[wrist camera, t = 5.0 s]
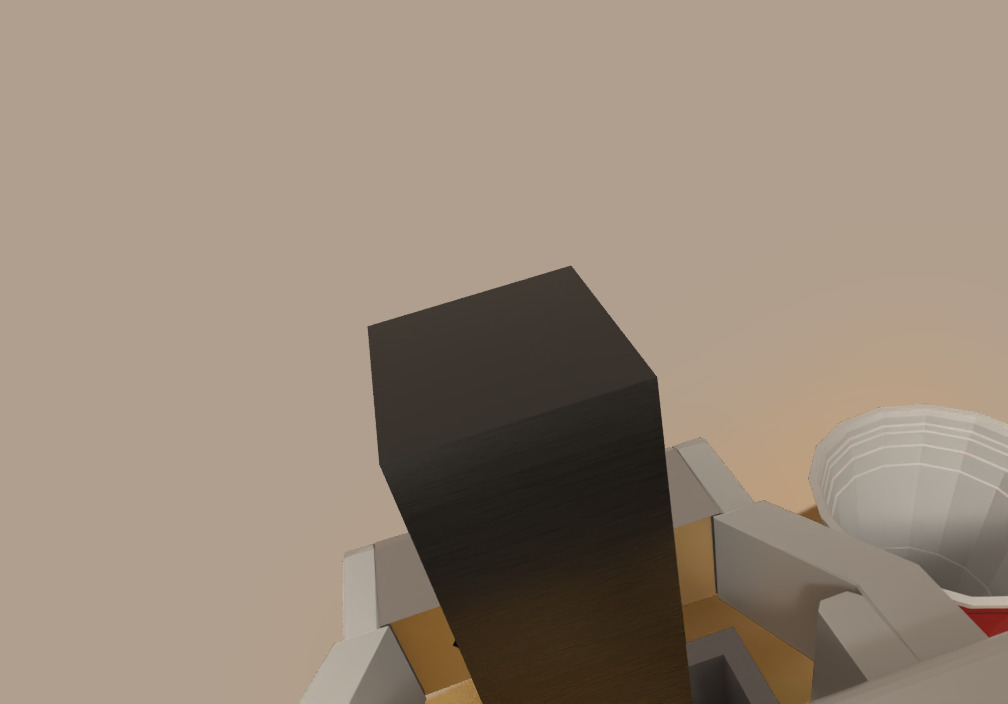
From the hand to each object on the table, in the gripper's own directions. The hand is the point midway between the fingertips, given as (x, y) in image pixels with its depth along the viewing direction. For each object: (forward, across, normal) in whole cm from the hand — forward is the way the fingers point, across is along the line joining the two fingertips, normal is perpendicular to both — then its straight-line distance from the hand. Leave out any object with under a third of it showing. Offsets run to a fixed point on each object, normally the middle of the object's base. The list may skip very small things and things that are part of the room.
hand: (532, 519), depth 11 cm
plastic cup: (+9, -18, +28) cm, 34 cm away
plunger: (-1, 0, +18) cm, 18 cm away
